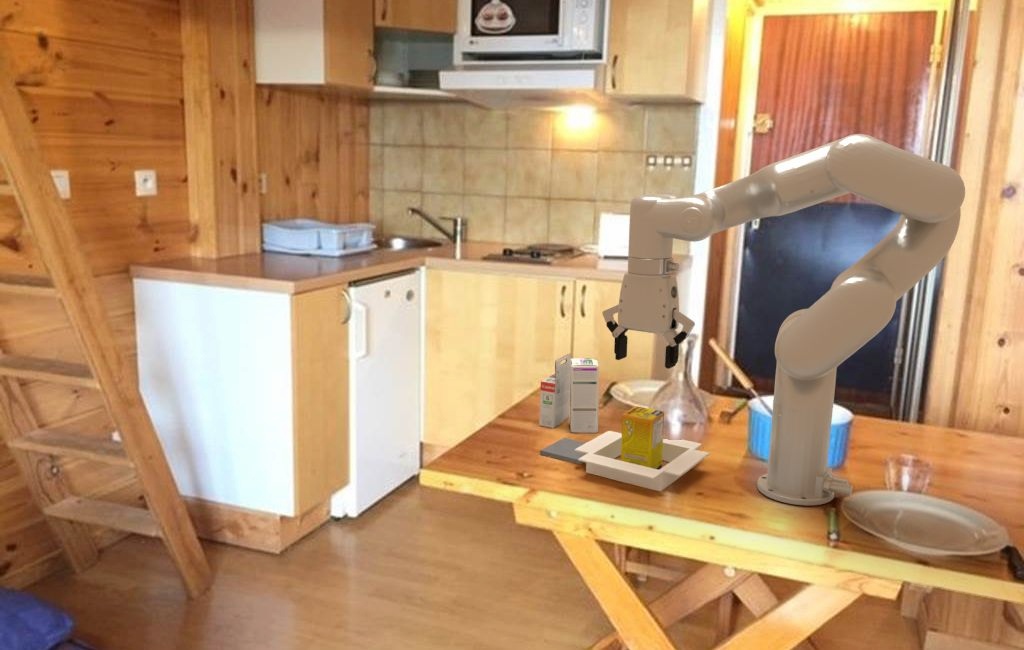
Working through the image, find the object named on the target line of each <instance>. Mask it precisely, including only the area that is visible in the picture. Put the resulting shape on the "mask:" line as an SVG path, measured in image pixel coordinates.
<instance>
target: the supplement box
mask: <svg viewBox="0 0 1024 650" xmlns="http://www.w3.org/2000/svg"><path fill="white" fill-rule="evenodd" d="M621 416H622V417H621V418H622V419H621V421H622V422H621V433H622V439H621V455H620V461H625V462H629V463H633V464H637V465H641V466H645V467H649V468H653V469H658V470H660V469H661V468H663V460H662V449H663V435H664V424H665V423H664V422H665V411H664V410H660V409H655V408H654V409H653V408H649V407H643V406H638V405H637V406H636V405H635V406H633V407H632V408H630V409H629V410H627V411H626V412H624V413H622V415H621Z"/></svg>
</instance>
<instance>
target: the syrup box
mask: <svg viewBox="0 0 1024 650" xmlns="http://www.w3.org/2000/svg"><path fill="white" fill-rule="evenodd" d="M599 366H600V365H599V363H598V359H596V358H590V357H579V358H578V357H577V358H571V368H570V405H569V429H570V433H575V434H576V433H577V434H598V429H599V394H600V393H599V392H600V391H599V390H600V389H599V388H600V387H599V384H600V383H599V382H600V381H599V380H600V379H599V378H600V377H599V376H600V375H599V372H600V371H599V370H600V367H599Z"/></svg>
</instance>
